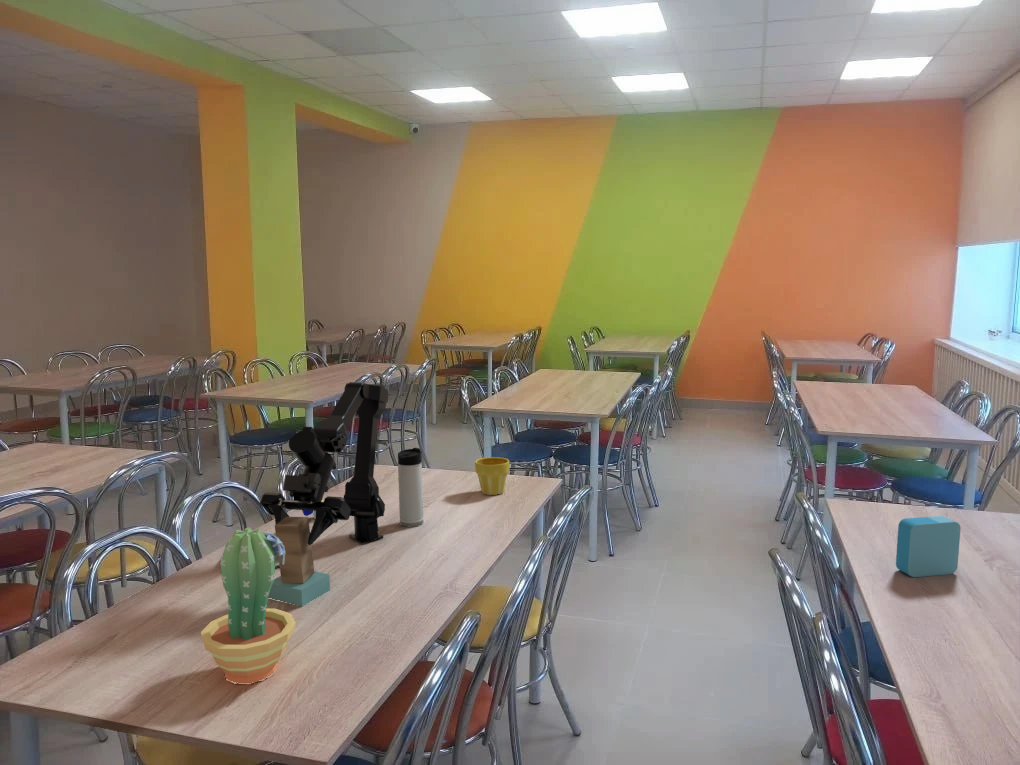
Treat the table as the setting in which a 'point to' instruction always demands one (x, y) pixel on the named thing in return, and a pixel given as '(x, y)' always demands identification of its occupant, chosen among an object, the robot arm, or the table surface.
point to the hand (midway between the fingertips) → (293, 543)
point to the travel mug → (410, 487)
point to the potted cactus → (249, 610)
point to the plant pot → (492, 474)
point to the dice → (309, 512)
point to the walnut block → (295, 549)
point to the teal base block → (300, 589)
